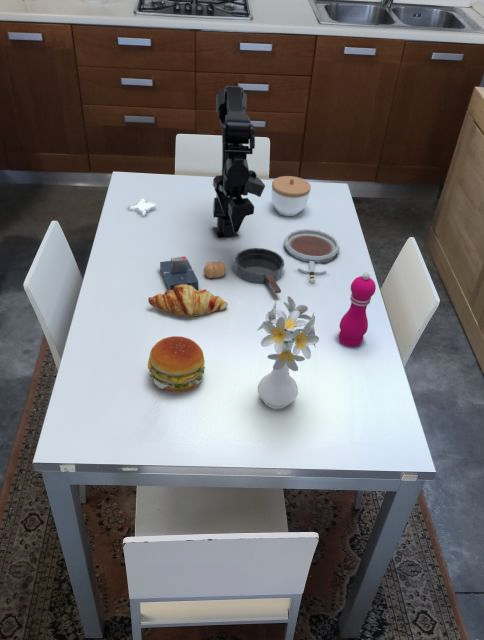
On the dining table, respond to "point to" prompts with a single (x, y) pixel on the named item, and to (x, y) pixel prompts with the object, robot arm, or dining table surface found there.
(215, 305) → the croissant
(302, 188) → the lidded bowl
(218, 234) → the robot arm
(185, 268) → the hob knob
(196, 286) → the hob control
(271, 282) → the egg pan handle
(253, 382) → the dining table surface
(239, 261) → the egg pan
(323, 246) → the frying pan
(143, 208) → the acanthus leaf ornament
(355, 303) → the pepper mill
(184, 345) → the burger
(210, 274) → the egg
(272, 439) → the dining table surface
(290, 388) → the flower vase
